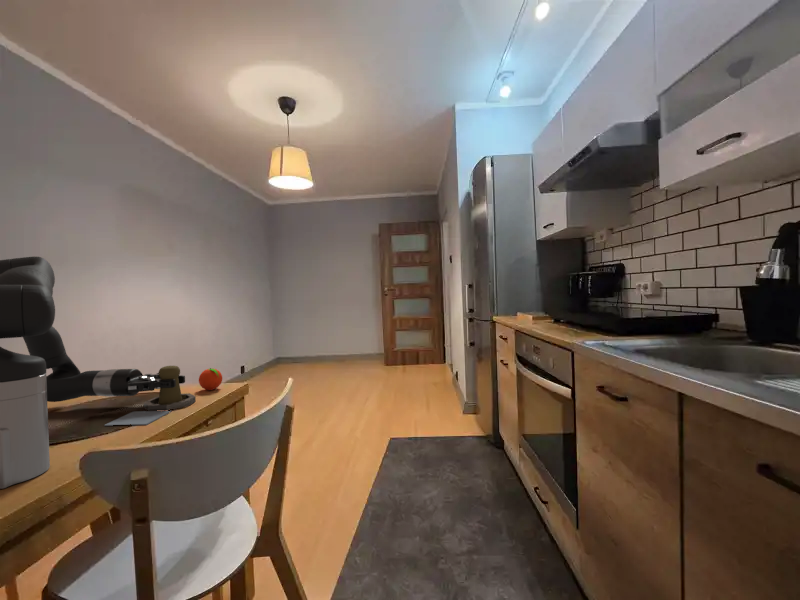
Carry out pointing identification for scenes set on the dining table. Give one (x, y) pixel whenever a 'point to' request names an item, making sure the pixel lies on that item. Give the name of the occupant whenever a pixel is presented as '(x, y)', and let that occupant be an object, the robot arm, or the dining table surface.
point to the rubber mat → (138, 418)
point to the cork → (170, 393)
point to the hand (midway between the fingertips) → (179, 381)
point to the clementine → (210, 379)
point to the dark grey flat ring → (153, 406)
